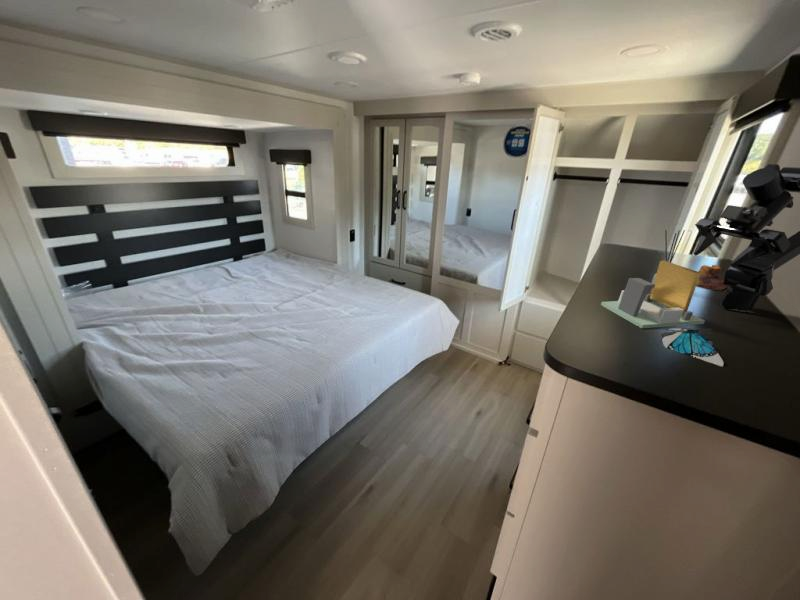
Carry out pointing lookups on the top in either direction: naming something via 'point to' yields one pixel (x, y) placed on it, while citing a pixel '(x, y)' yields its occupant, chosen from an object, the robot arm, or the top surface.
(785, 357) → the top surface
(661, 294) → the gold rectangular plate
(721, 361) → the decorative butterfly
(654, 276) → the reed diffuser
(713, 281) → the brown piece
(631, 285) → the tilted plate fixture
